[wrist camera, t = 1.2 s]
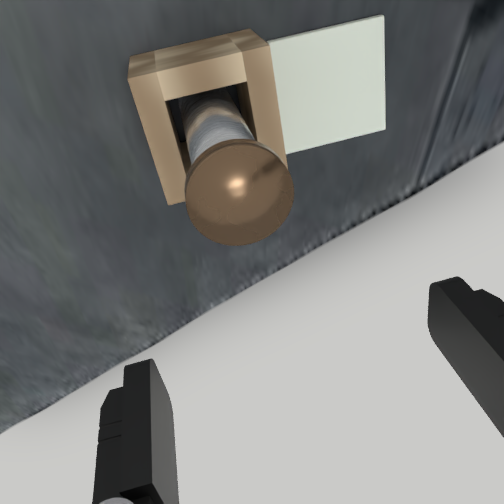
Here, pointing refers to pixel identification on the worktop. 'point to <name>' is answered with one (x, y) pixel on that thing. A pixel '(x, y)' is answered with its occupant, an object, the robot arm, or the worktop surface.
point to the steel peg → (231, 173)
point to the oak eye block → (199, 80)
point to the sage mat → (330, 83)
